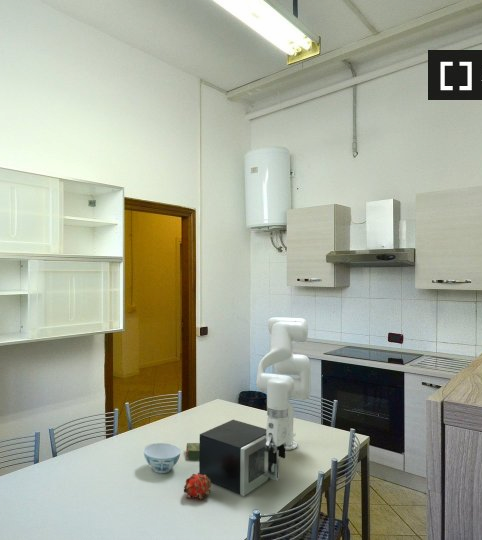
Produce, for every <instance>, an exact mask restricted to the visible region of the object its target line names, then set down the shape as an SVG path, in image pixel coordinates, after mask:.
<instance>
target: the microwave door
mask: <svg viewBox="0 0 482 540" xmlns="http://www.w3.org/2000/svg"><path fill="white" fill-rule="evenodd" d="M266 442H267V441H266V436H265V435H264V436H263V437H261V438H259V439H257V440H255V441H253V442H251V443H250V444H248V445H246V446H244V447H242V448H241V457H240V495H239V496H242V497H246V495H248V494H250V493H251V492H253V491H254V490H255V489H256V488H258V487H259V486H261V485H262V484H264V483H265V482H267V481H269V479H271V480H274V481H279V480H280V479H279V478H280V457H279V450H278V449H277V448H276V453H277V463H276V464H274V473H272V472H269V471H268V449H267V447H266ZM273 449H274V448H273ZM268 477H269V478H268Z"/></svg>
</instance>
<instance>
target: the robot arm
mask: <svg viewBox="0 0 482 540" xmlns="http://www.w3.org/2000/svg"><path fill="white" fill-rule="evenodd" d="M267 328H268V332H269V334H270V346H269V347H270V348H269V352H267V353H266V354H264V356H263V357H262V358H261V360H260V361H259V362H258V365H257V370H256V379H255V381H256V382H255V383H256V389H257V390H258V391H259V392H261V393H265V394H266V416H267V420H266V428H265V429H266V441H267V442H266V447H267V449H268V461H269V462H271V463H274V464H276V463H277V453H276V449H278V450H279V458H282V459H285V458H286V451H291V450H294V449H296V448H297V445H298V443H297V442H296V441H295V440H294V437H296V435H297V433H296V432H295V431H294V418H295V417H294V416H295V415H294V414H295V413H294V412H295V411H294V405H293V404H292V402H291V401H290V399H292V400H300V401H301V400H302V401H306V400H309V398H310V396H311V361H310V359H309V357H308V356H307V355H305V354H300V353H299V354H298V353H294V343H305V342H306V341H307V340H308V333H309V324H308V321H307V320H306V319H305V318H301V317H283V316H274V317H270V318H269V319H268V320H267ZM272 365H273V367H274V371H275V372H276V373H268V372H266V369H268V368H269V367H271V366H272ZM290 375H291V376H290ZM292 376H298V377H292ZM271 442H274V444H273V443H271ZM271 445H273V446H274V449H273V447H271Z"/></svg>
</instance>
